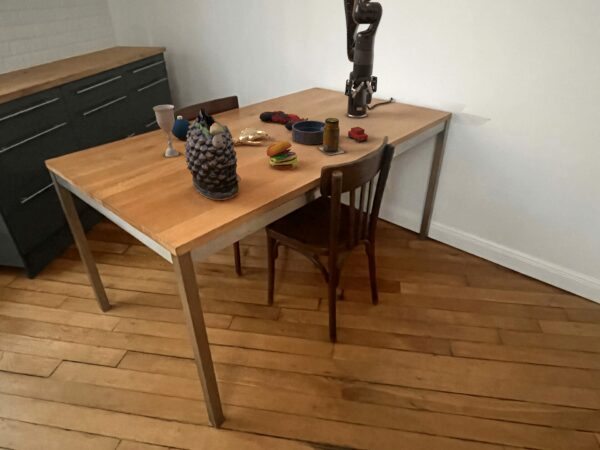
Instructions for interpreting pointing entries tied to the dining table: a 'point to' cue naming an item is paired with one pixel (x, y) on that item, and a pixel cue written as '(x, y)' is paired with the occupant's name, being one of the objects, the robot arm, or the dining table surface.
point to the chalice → (166, 125)
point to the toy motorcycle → (281, 118)
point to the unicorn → (250, 136)
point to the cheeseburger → (282, 155)
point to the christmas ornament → (181, 128)
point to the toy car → (357, 134)
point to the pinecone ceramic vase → (211, 158)
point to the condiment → (331, 137)
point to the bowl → (308, 132)
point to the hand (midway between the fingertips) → (359, 105)
